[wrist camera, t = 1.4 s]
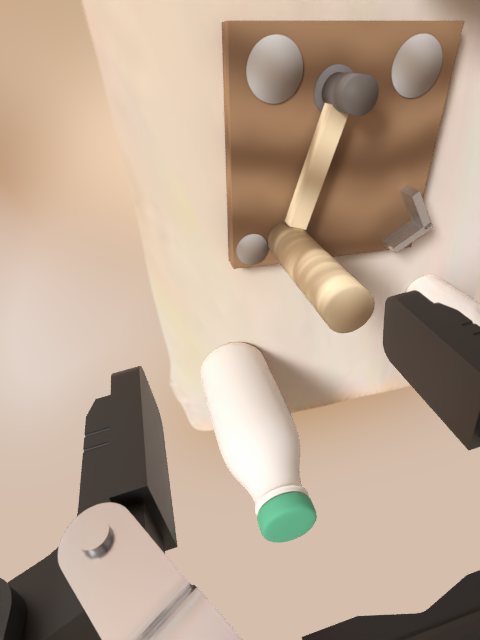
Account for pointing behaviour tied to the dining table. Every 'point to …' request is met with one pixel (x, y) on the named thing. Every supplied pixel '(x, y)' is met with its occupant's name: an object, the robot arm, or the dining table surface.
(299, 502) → the milk bottle
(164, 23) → the dining table surface
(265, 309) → the dining table surface
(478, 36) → the dining table surface
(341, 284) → the hinged leg
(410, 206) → the corner bracket
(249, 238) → the stool seat
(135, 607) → the robot arm
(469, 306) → the white pointed cylinder
